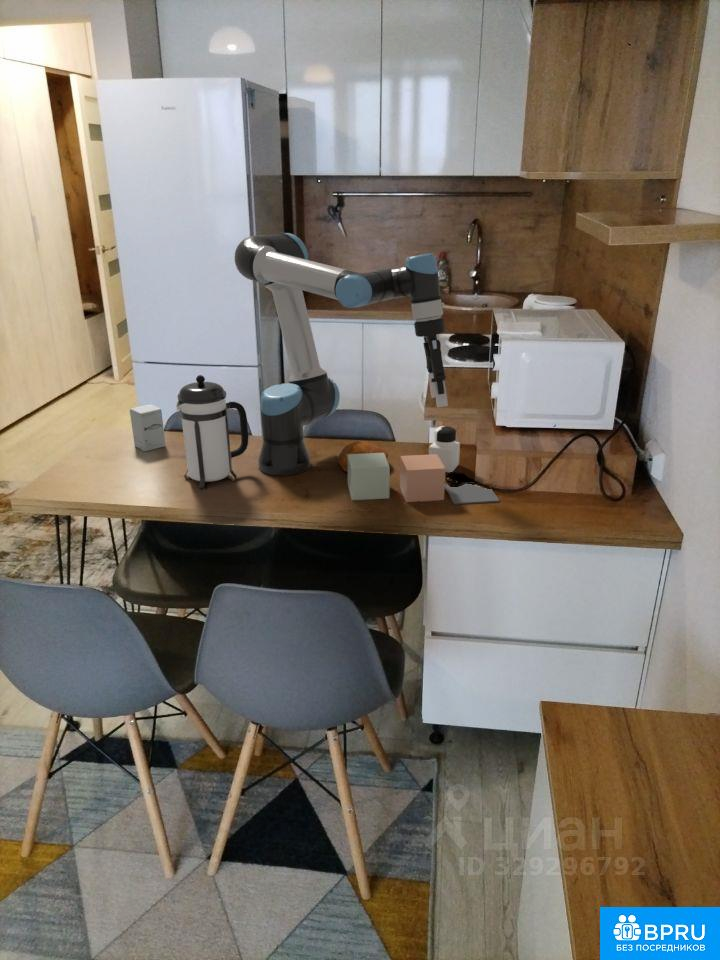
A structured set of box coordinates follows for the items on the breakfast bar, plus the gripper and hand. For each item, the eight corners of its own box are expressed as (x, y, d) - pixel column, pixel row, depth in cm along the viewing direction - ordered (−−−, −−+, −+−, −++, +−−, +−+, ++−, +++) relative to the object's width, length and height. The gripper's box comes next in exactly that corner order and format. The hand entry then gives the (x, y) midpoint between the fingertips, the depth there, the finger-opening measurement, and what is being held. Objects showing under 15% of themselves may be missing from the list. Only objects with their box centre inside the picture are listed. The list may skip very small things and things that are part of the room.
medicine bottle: (459, 464, 203) (461, 426, 198) (451, 473, 197) (453, 433, 193) (436, 461, 206) (437, 422, 201) (427, 469, 200) (429, 430, 195)
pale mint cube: (351, 500, 181) (351, 468, 178) (347, 484, 191) (347, 454, 187) (389, 498, 182) (389, 466, 179) (383, 482, 192) (383, 452, 188)
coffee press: (229, 492, 187) (219, 384, 174) (174, 488, 190) (161, 381, 177) (251, 468, 202) (243, 367, 190) (200, 464, 205) (189, 364, 193)
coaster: (454, 504, 179) (454, 503, 178) (443, 485, 190) (443, 484, 189) (499, 501, 180) (499, 500, 180) (486, 483, 191) (486, 481, 191)
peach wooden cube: (406, 502, 180) (406, 470, 177) (399, 486, 189) (400, 456, 186) (443, 500, 181) (445, 468, 178) (435, 484, 190) (436, 454, 187)
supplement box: (145, 452, 214) (139, 413, 209) (134, 446, 219) (128, 408, 214) (166, 446, 219) (161, 408, 214) (155, 440, 224) (150, 403, 219)
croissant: (333, 480, 199) (331, 456, 195) (347, 454, 212) (345, 430, 208) (382, 483, 196) (381, 459, 192) (393, 456, 209) (392, 433, 204)
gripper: (449, 319, 161) (460, 408, 167) (437, 313, 185) (447, 390, 191) (417, 325, 161) (429, 413, 168) (410, 317, 185) (420, 395, 191)
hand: (439, 401), depth 179 cm, fingers open, 13 cm apart
